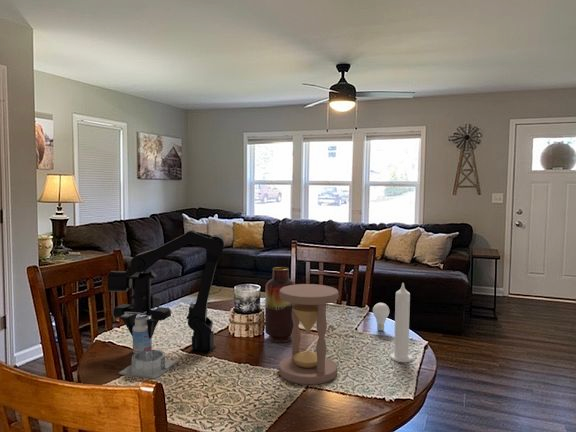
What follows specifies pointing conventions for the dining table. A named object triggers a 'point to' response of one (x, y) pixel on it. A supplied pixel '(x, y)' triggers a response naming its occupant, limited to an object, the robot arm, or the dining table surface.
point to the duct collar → (148, 364)
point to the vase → (278, 308)
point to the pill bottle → (141, 335)
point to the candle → (401, 326)
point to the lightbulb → (380, 314)
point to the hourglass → (307, 311)
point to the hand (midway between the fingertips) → (142, 337)
